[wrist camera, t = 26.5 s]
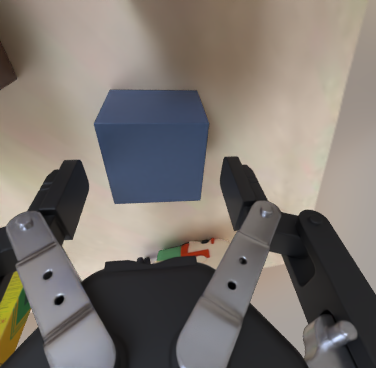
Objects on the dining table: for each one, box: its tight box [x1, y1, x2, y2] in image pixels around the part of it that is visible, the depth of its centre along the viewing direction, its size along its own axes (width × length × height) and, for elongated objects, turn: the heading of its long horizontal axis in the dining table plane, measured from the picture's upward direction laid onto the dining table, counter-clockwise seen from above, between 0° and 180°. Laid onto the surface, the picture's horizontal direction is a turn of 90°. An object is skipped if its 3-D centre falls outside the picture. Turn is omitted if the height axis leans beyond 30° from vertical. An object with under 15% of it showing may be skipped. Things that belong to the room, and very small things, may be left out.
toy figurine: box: [137, 238, 230, 269], centre depth 27 cm, size 8×4×12 cm
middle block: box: [94, 90, 209, 204], centre depth 15 cm, size 6×6×5 cm
